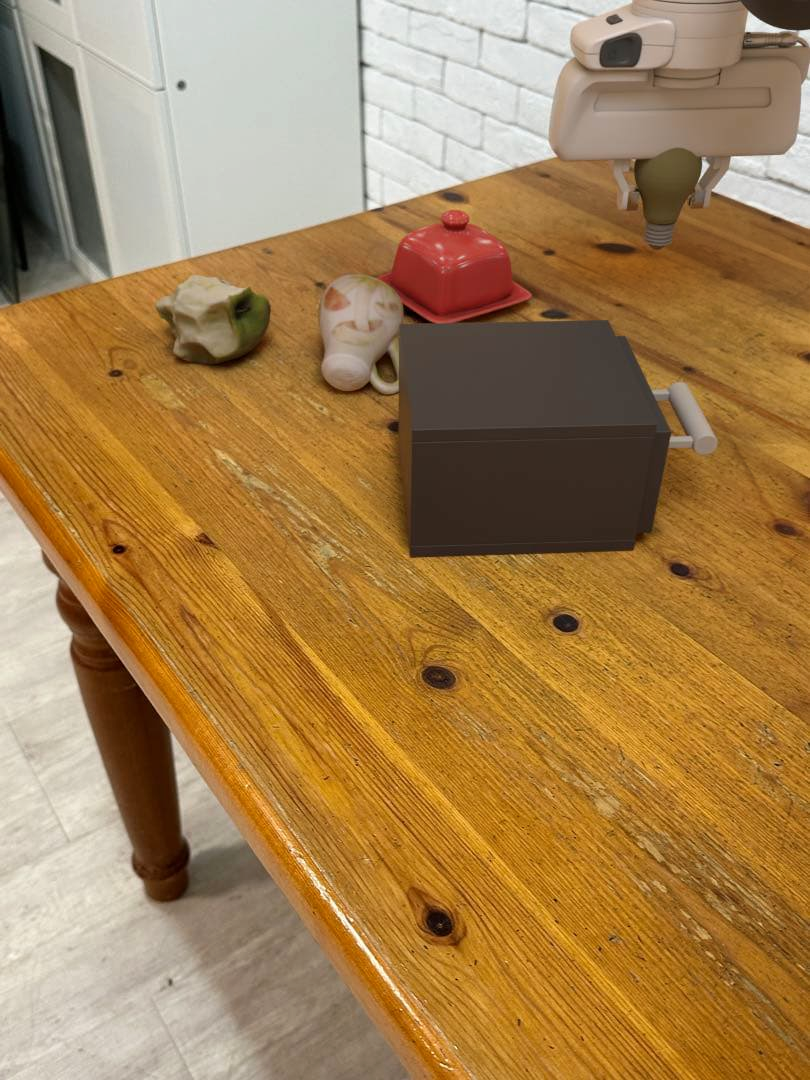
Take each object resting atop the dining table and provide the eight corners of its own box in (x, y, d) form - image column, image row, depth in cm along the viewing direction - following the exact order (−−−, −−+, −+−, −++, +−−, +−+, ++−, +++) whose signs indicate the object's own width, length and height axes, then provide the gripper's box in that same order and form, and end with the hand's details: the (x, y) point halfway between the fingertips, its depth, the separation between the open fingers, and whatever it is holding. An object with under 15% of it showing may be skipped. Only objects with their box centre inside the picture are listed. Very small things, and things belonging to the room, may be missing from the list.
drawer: (666, 429, 79) (685, 334, 74) (715, 531, 69) (740, 429, 64) (430, 434, 78) (433, 339, 73) (446, 539, 68) (450, 436, 63)
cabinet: (591, 437, 80) (608, 319, 74) (633, 550, 69) (657, 423, 63) (398, 441, 79) (399, 323, 73) (410, 557, 68) (412, 429, 62)
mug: (300, 403, 84) (285, 276, 82) (344, 398, 93) (331, 283, 91) (389, 394, 81) (374, 263, 80) (424, 389, 90) (412, 271, 89)
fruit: (286, 375, 89) (275, 298, 83) (178, 398, 88) (159, 322, 81) (263, 310, 95) (252, 234, 89) (161, 331, 93) (142, 255, 87)
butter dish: (538, 308, 97) (547, 218, 92) (437, 340, 92) (440, 247, 87) (464, 265, 104) (468, 180, 99) (366, 292, 99) (365, 204, 94)
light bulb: (623, 235, 95) (637, 121, 89) (686, 237, 94) (704, 123, 88) (625, 259, 91) (639, 141, 85) (690, 262, 90) (710, 143, 84)
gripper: (801, 21, 85) (767, 191, 93) (551, 28, 84) (540, 198, 92) (831, 39, 80) (792, 217, 88) (566, 46, 79) (552, 225, 87)
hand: (661, 207), depth 90 cm, fingers closed on light bulb, 5 cm apart
